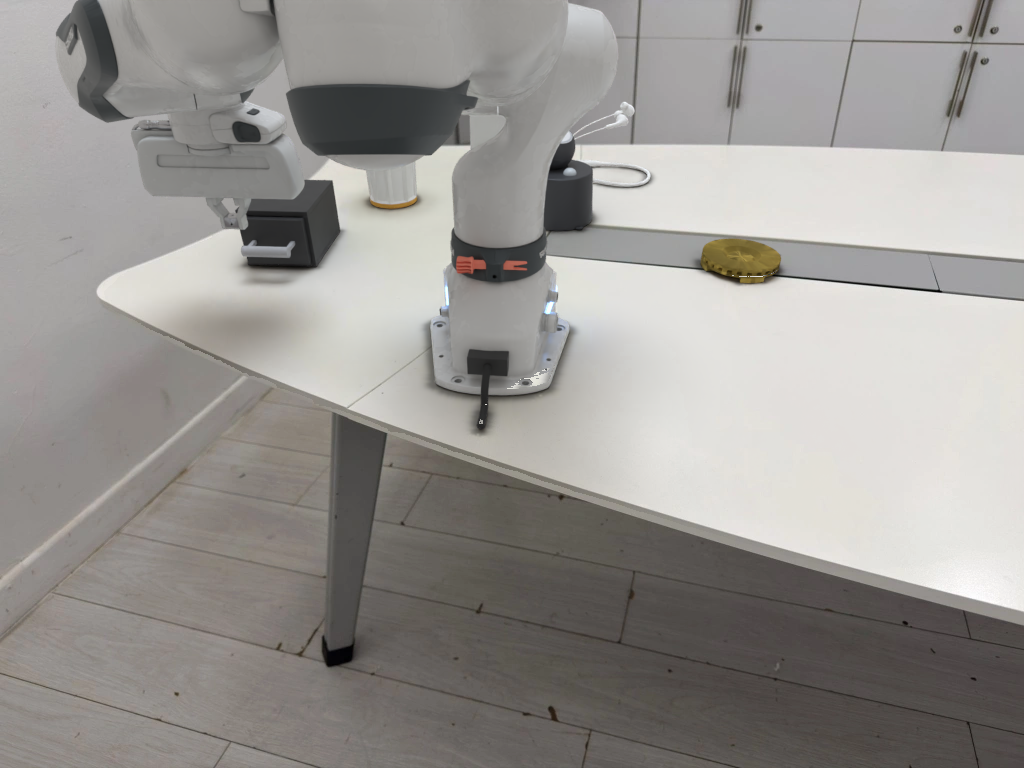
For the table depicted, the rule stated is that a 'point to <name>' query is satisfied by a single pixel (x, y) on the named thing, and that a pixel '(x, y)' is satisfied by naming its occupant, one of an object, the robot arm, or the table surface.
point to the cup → (393, 187)
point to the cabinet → (306, 216)
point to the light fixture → (568, 190)
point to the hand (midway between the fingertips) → (235, 228)
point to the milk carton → (484, 128)
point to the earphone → (620, 121)
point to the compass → (740, 259)
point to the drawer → (275, 240)
